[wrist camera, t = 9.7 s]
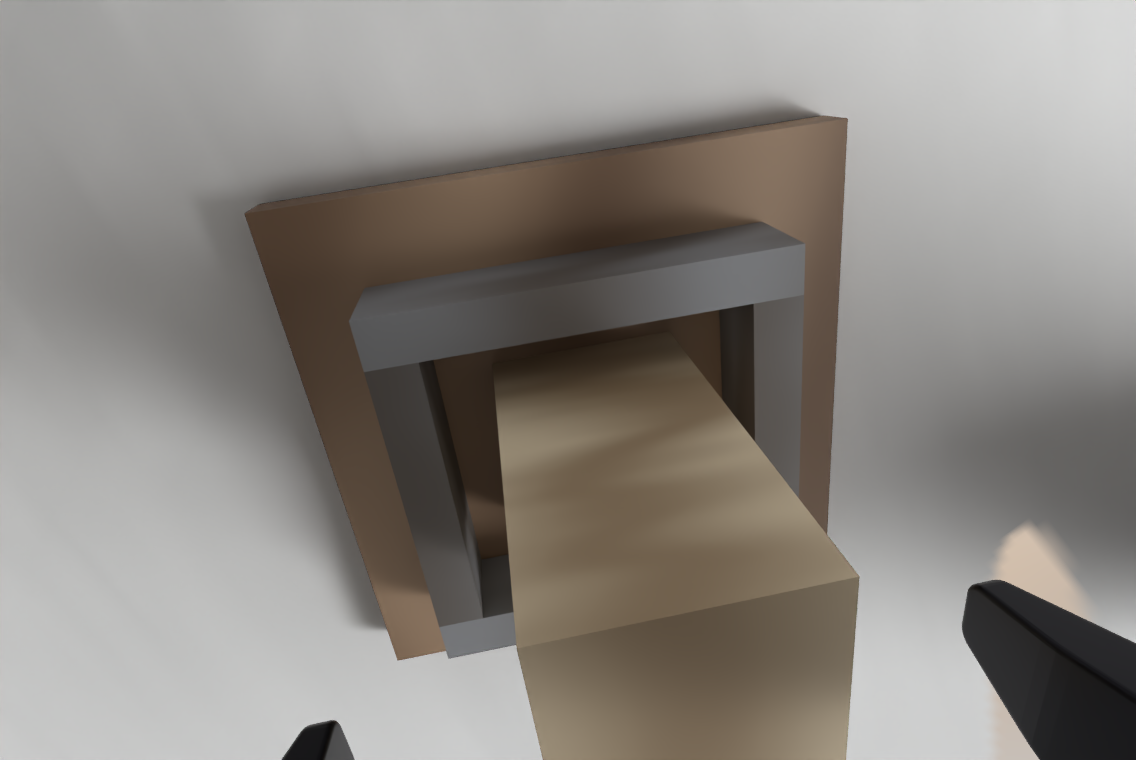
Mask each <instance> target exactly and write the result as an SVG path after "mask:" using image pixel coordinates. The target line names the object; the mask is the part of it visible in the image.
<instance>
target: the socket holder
mask: <svg viewBox="0 0 1136 760" xmlns="http://www.w3.org/2000/svg"><path fill="white" fill-rule="evenodd" d="M847 122H848V119H847V118H839V117H831V116H818V117H811V118H805V119H799V120H792V121H786V122H780V123H773V124H767V125H760V126H754V127H748V128H741V129H735V130H729V131H722V132H716V133H709V134H703V135H697V136H690V137H684V138H678V139H671V140H665V141H658V142H652V143H646V144H639V145H633V146H627V147H620V148H614V149H607V150H601V151H595V152H588V153H582V154H576V155H569V156H563V157H557V158H550V159H544V160H537V161H531V162H525V163H518V164H512V165H506V166H499V167H493V168H486V169H480V170H474V171H467V172H461V173H455V174H448V175H442V176H435V177H429V178H423V179H416V180H410V181H404V182H397V183H391V184H384V185H378V186H372V187H365V188H359V189H353V190H346V191H340V192H334V193H327V194H321V195H314V196H308V197H302V198H295V199H289V200H283V201H276V202H270V203H263V204H259V205H257V206H256V207H254V208H253V209H251V210H249V211H248V212H246V213H245V217H246V220H247V222H248V225H249V228H250V231H251V234H252V237H253V240H254V243H255V246H256V249H257V252H258V254H259V257H260V260H261V263H262V266H263V269H264V272H265V275H266V278H267V281H268V284H269V287H270V289H271V292H272V295H273V298H274V301H275V304H276V307H277V310H278V313H279V316H280V319H281V322H282V324H283V327H284V330H285V333H286V336H287V339H288V342H289V345H290V348H291V351H292V354H293V357H294V359H295V362H296V365H297V368H298V371H299V374H300V377H301V380H302V383H303V386H304V389H305V391H306V394H307V397H308V400H309V403H310V406H311V409H312V412H313V415H314V418H315V421H316V424H317V426H318V429H319V432H320V435H321V438H322V441H323V444H324V447H325V450H326V453H327V456H328V459H329V461H330V464H331V467H332V470H333V473H334V476H335V479H336V482H337V485H338V488H339V491H340V493H341V496H342V499H343V502H344V505H345V508H346V511H347V514H348V517H349V520H350V523H351V526H352V528H353V531H354V534H355V537H356V540H357V543H358V546H359V549H360V552H361V555H362V558H363V561H364V563H365V566H366V569H367V572H368V575H369V578H370V581H371V584H372V587H373V590H374V593H375V596H376V598H377V601H378V604H379V607H380V610H381V613H382V616H383V619H384V622H385V625H386V628H387V630H388V633H389V636H390V639H391V642H392V645H393V648H394V651H395V654H396V657H397V660H403V659H408V658H413V657H418V656H423V655H427V654H432V653H437V652H442V651H446V652H447V655H448V659H449V658H454V657H459V656H464V655H469V654H474V653H478V652H483V651H488V650H493V649H498V648H503V647H508V646H512V645H516V634H515V622H514V610H513V599H512V587H511V575H510V564H509V552H508V540H507V529H506V517H505V505H504V494H503V482H502V470H501V459H500V447H499V435H498V424H497V412H496V400H495V389H494V377H493V365H492V364H493V363H498V362H504V361H509V360H515V359H520V358H526V357H531V356H537V355H543V354H548V353H554V352H559V351H565V350H570V349H576V348H581V347H587V346H592V345H598V344H603V343H609V342H614V341H620V340H625V339H631V338H636V337H642V336H647V335H653V334H658V333H664V332H670V333H671V334H672V336H673V337H674V338H675V340H676V341H677V342H678V343H679V345H680V346H681V347H682V349H683V350H684V351H685V352H686V354H687V355H688V356H689V358H690V359H691V360H692V361H693V363H694V364H695V365H696V367H697V368H698V369H699V371H700V372H701V373H702V374H703V376H704V377H705V378H706V380H707V381H708V382H709V383H710V385H711V386H712V387H713V389H714V390H715V391H716V392H717V394H718V395H719V396H720V398H721V399H722V400H723V401H724V403H725V404H726V405H727V407H728V408H729V409H730V410H731V412H732V413H733V414H734V416H735V417H736V418H737V419H738V421H739V422H740V423H741V425H742V426H743V427H744V429H745V430H746V431H747V432H748V434H749V435H750V436H751V438H752V439H753V440H754V441H755V443H756V444H757V445H758V447H759V448H760V449H761V450H762V452H763V453H764V454H765V456H766V457H767V458H768V459H769V461H770V462H771V463H772V465H773V466H774V467H775V468H776V470H777V471H778V472H779V474H780V475H781V476H782V477H783V479H784V480H785V481H786V483H787V484H788V485H789V487H790V488H791V489H792V490H793V492H794V493H795V494H796V496H797V497H798V498H799V499H800V501H801V502H802V503H803V505H804V506H805V507H806V508H807V510H808V511H809V512H810V514H811V515H812V516H813V517H814V519H815V520H816V521H817V523H818V524H819V525H820V526H821V528H822V529H823V530H824V532H825V533H826V534H827V524H828V504H829V484H830V464H831V444H832V423H833V403H834V383H835V363H836V343H837V323H838V303H839V283H840V263H841V242H842V222H843V202H844V182H845V162H846V142H847Z"/></svg>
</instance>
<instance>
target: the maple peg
mask: <svg viewBox="0 0 1136 760" xmlns="http://www.w3.org/2000/svg"><path fill="white" fill-rule="evenodd" d="M492 365H493V377H494V389H495V400H496V412H497V424H498V435H499V447H500V459H501V470H502V482H503V494H504V505H505V517H506V529H507V540H508V552H509V564H510V575H511V587H512V599H513V610H514V622H515V634H516V646H517V652H518V656H519V660H520V664H521V669H522V673H523V677H524V681H525V685H526V690H527V694H528V698H529V702H530V707H531V711H532V715H533V719H534V723H535V728H536V732H537V736H538V740H539V745H540V749H541V753H542V757H543V760H846V750H847V737H848V723H849V710H850V696H851V682H852V669H853V655H854V642H855V628H856V615H857V601H858V588H859V575H858V574H857V573H856V572H855V570H854V569H853V568H852V566H851V565H850V564H849V563H848V561H847V560H846V559H845V557H844V556H843V555H842V554H841V552H840V551H839V550H838V548H837V547H836V546H835V545H834V543H833V542H832V541H831V539H830V538H829V537H828V535H827V534H826V533H825V532H824V530H823V529H822V528H821V526H820V525H819V524H818V523H817V521H816V520H815V519H814V517H813V516H812V515H811V514H810V512H809V511H808V510H807V508H806V507H805V506H804V505H803V503H802V502H801V501H800V499H799V498H798V497H797V496H796V494H795V493H794V492H793V490H792V489H791V488H790V487H789V485H788V484H787V483H786V481H785V480H784V479H783V477H782V476H781V475H780V474H779V472H778V471H777V470H776V468H775V467H774V466H773V465H772V463H771V462H770V461H769V459H768V458H767V457H766V456H765V454H764V453H763V452H762V450H761V449H760V448H759V447H758V445H757V444H756V443H755V441H754V440H753V439H752V438H751V436H750V435H749V434H748V432H747V431H746V430H745V429H744V427H743V426H742V425H741V423H740V422H739V421H738V419H737V418H736V417H735V416H734V414H733V413H732V412H731V410H730V409H729V408H728V407H727V405H726V404H725V403H724V401H723V400H722V399H721V398H720V396H719V395H718V394H717V392H716V391H715V390H714V389H713V387H712V386H711V385H710V383H709V382H708V381H707V380H706V378H705V377H704V376H703V374H702V373H701V372H700V371H699V369H698V368H697V367H696V365H695V364H694V363H693V361H692V360H691V359H690V358H689V356H688V355H687V354H686V352H685V351H684V350H683V349H682V347H681V346H680V345H679V343H678V342H677V341H676V340H675V338H674V337H673V336H672V334H671V333H670V332H664V333H658V334H653V335H647V336H642V337H636V338H631V339H625V340H620V341H614V342H609V343H603V344H598V345H592V346H587V347H581V348H576V349H570V350H565V351H559V352H554V353H548V354H543V355H537V356H531V357H526V358H520V359H515V360H509V361H504V362H498V363H493V364H492Z"/></svg>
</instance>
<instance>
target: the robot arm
mask: <svg viewBox="0 0 1136 760" xmlns="http://www.w3.org/2000/svg"><path fill="white" fill-rule="evenodd" d="M962 630H963V635H964V638H965V640H966V642H967V644H968V646H969V648H970V649H971V651H972V653H973V654H974V656H975V658H976V659H977V661H978V662H979V664H980V666H981V667H982V669H983V671H984V672H985V674H986V676H987V677H988V679H989V681H990V682H991V684H992V685H993V687H994V689H995V690H996V692H997V694H998V695H999V697H1000V699H1001V700H1002V702H1003V703H1004V705H1005V707H1006V708H1007V710H1008V712H1009V713H1010V715H1011V716H1012V718H1013V720H1014V722H1015V723H1016V725H1017V726H1018V728H1019V730H1020V731H1021V733H1022V734H1023V736H1024V737H1025V739H1026V740H1027V742H1028V744H1029V745H1030V747H1031V748H1032V749H1033V751H1034V752H1035V754H1036V755H1037V757H1038V758H1039V759H1040V760H1136V643H1134V642H1132V641H1130V640H1128V639H1125V638H1123V637H1121V636H1119V635H1117V634H1115V633H1113V632H1111V631H1109V630H1107V629H1104V628H1102V627H1100V626H1098V625H1096V624H1094V623H1092V622H1090V621H1088V620H1085V619H1083V618H1081V617H1079V616H1077V615H1075V614H1073V613H1071V612H1069V611H1066V610H1064V609H1062V608H1060V607H1058V606H1056V605H1054V604H1052V603H1050V602H1047V601H1045V600H1043V599H1041V598H1039V597H1037V596H1035V595H1033V594H1030V593H1029V592H1026V591H1024V590H1022V589H1020V588H1018V587H1016V586H1014V585H1012V584H1009V583H1007V582H1005V581H1002V580H991V581H986V582H982V583H977V584H974V585H972V586H971V587H970V588H969V590H968V593H967V599H966V604H965V610H964V616H963V621H962ZM282 760H354V757H353V754H352V752H351V749H350V747H349V745H348V742H347V740H346V738H345V735H344V733H343V730H342V728H341V726H340V724H339V723H338V722H337V721H335V720H330V721H326V722H321V723H316V724H312V725H309V726H307V727H305V728H304V729H303V730H302V731H301V732H300V734H299V735H298V737H297V738H296V740H295V741H294V742H293V744H292V745H291V747H290V748H289V750H288V751H287V753H286V754H285V755H284V757H283V758H282Z"/></svg>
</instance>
